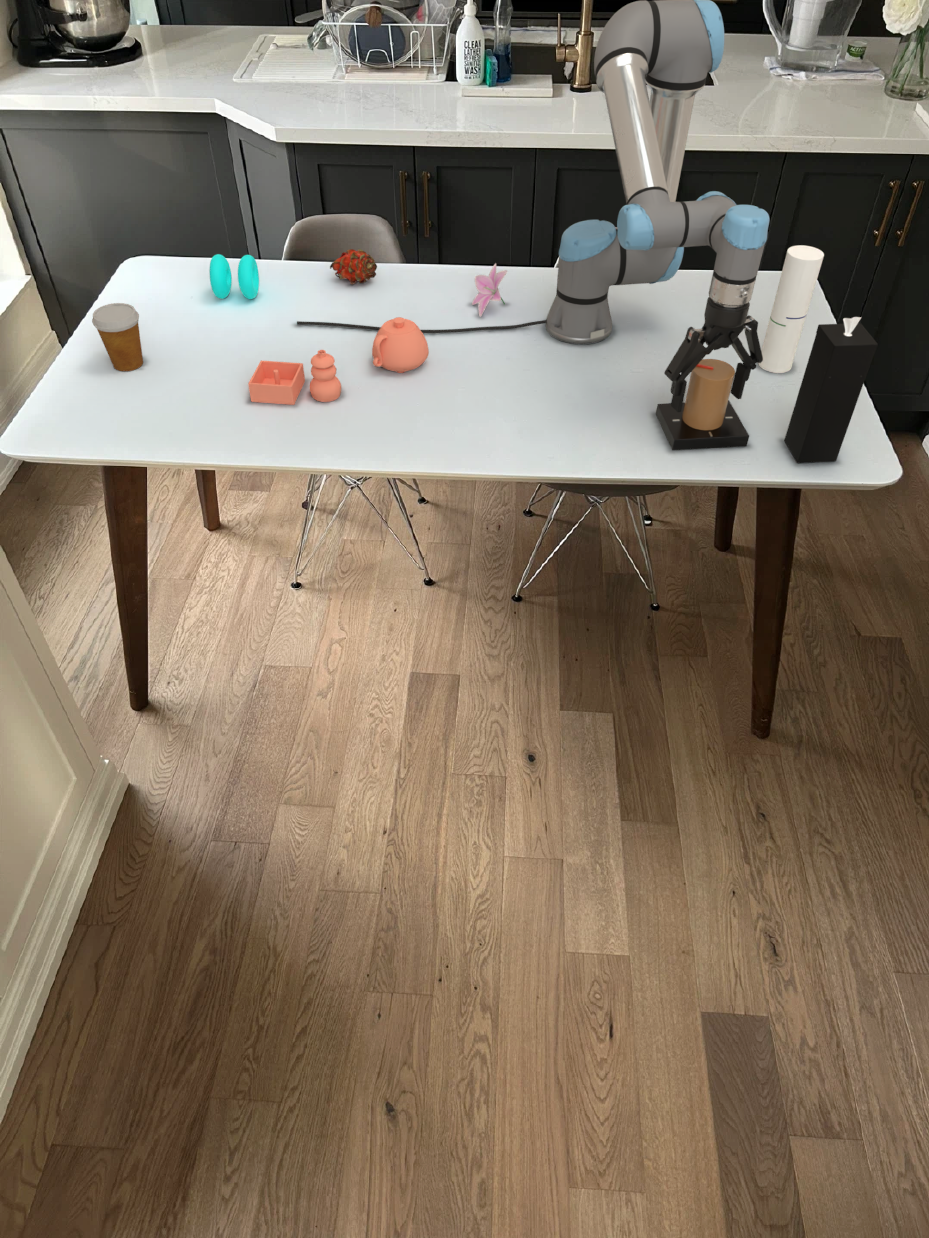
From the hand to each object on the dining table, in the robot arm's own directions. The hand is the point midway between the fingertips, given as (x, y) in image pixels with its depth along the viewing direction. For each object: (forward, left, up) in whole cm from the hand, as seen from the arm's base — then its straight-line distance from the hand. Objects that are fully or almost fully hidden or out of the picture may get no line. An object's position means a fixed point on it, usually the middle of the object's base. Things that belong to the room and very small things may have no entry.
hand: (705, 402), depth 180 cm
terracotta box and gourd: (-83, 0, -7) cm, 83 cm away
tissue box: (+21, -4, -7) cm, 22 cm away
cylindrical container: (+17, +29, -7) cm, 34 cm away
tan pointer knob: (0, 0, -4) cm, 4 cm away
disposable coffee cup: (-123, +5, -7) cm, 123 cm away
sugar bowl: (-65, +15, -7) cm, 67 cm away
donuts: (-110, +40, -7) cm, 117 cm away
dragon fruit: (-84, +53, -7) cm, 99 cm away
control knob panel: (0, 0, -6) cm, 6 cm away
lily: (-49, +45, -7) cm, 67 cm away
